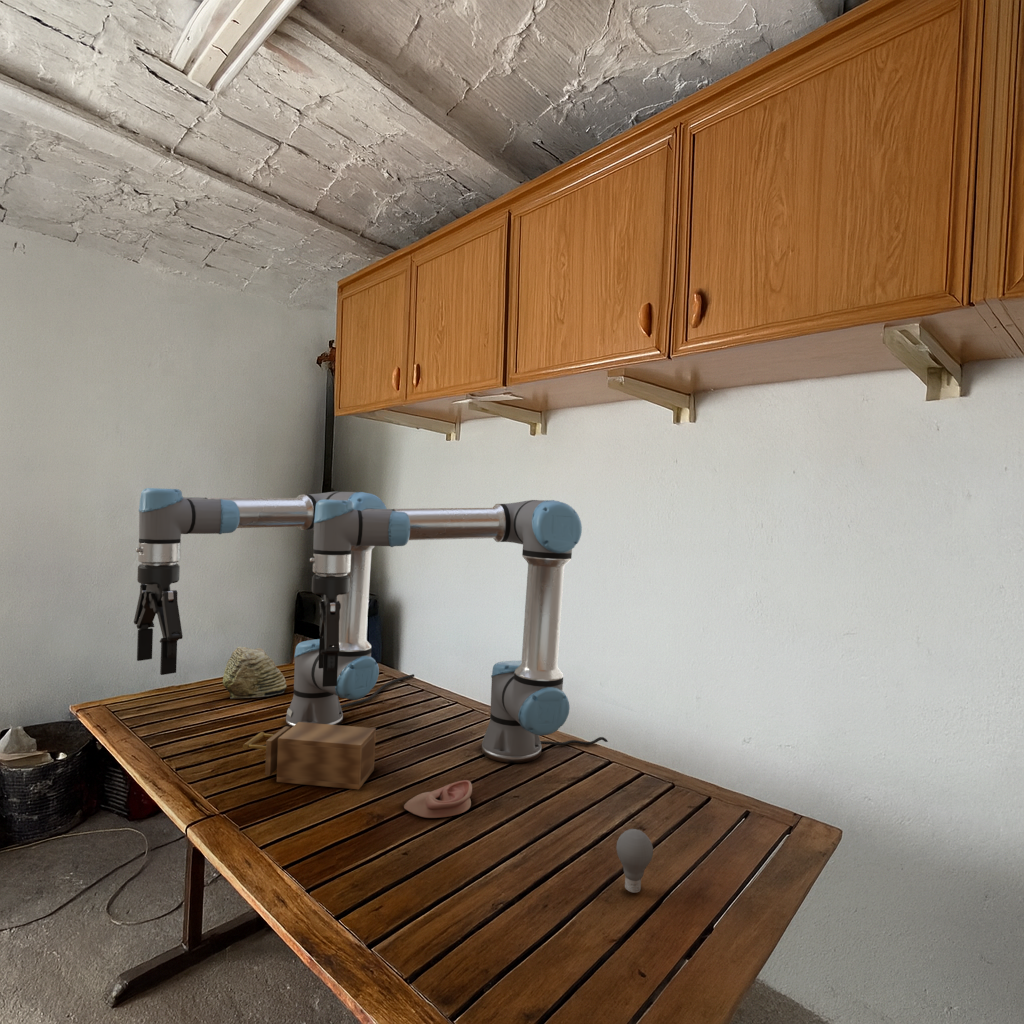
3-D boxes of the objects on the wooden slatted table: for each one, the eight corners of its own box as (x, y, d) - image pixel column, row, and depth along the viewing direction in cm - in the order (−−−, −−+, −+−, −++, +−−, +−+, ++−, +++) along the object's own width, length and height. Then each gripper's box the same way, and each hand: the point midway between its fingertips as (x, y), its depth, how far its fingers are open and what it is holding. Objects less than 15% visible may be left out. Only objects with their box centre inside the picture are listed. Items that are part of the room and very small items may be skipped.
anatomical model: (398, 794, 127) (418, 771, 139) (398, 814, 128) (417, 789, 139) (462, 803, 125) (477, 779, 136) (461, 823, 125) (476, 797, 136)
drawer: (239, 772, 141) (241, 738, 141) (260, 756, 150) (261, 724, 150) (340, 781, 139) (341, 747, 139) (355, 764, 148) (356, 732, 148)
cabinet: (276, 782, 140) (277, 738, 139) (297, 762, 150) (298, 721, 150) (358, 789, 138) (360, 745, 137) (374, 769, 148) (375, 728, 148)
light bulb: (610, 879, 108) (613, 822, 108) (644, 879, 109) (647, 822, 109) (619, 902, 102) (622, 840, 102) (655, 901, 103) (658, 840, 103)
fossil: (218, 695, 195) (220, 647, 195) (278, 685, 208) (279, 640, 207) (228, 703, 189) (230, 653, 188) (289, 692, 201) (290, 645, 201)
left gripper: (118, 558, 135) (116, 657, 136) (161, 571, 119) (158, 683, 119) (157, 557, 141) (154, 651, 141) (202, 568, 124) (199, 676, 125)
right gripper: (309, 567, 141) (305, 661, 142) (315, 582, 118) (311, 695, 118) (344, 567, 144) (340, 660, 144) (356, 582, 120) (352, 693, 121)
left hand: (155, 666), depth 130 cm, fingers open, 13 cm apart
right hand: (327, 676), depth 131 cm, fingers open, 13 cm apart
